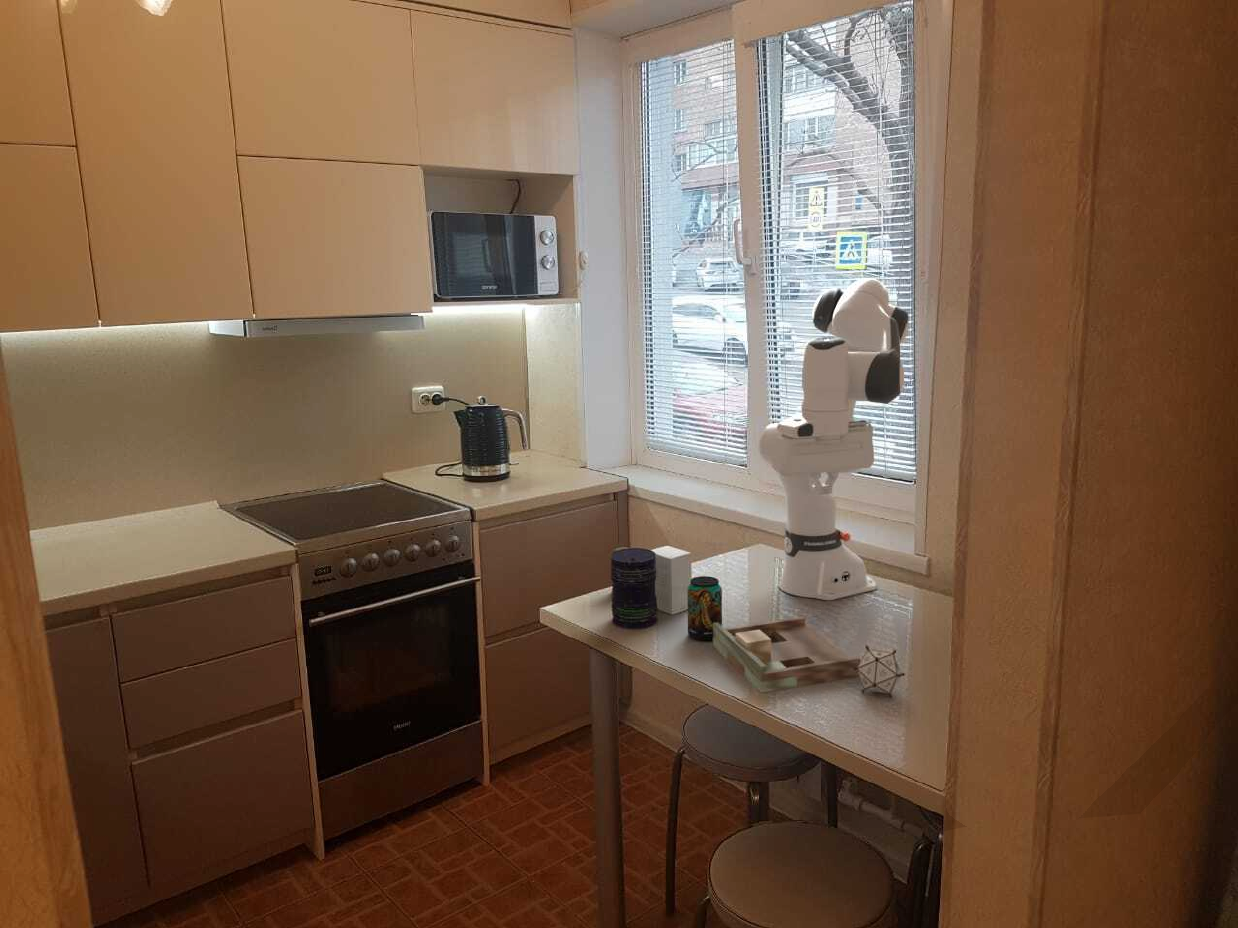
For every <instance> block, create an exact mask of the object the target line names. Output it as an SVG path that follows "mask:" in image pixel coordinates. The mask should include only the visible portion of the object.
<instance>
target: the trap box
mask: <svg viewBox="0 0 1238 928" xmlns="http://www.w3.org/2000/svg"><path fill="white" fill-rule="evenodd" d="M753 630H760V631H762V632H763V633H764V634H765V635H767V636H768V637H769V638H770V639H771V659H768V660H762V661H760V660H759V659H758V658H757V657H756V656H755V655H754V654H753V653H752V652H750V651H749V650H748V649H747V648H746V647H745V646H744V645H743V644H741V643H740V642H739V641H738V640H737V639H736V638H735V633H740V632H746V631H753ZM712 647H713V648H715V650H716V651H717V652H718V653H719V654H720V655H722V657H723V658H725V659H726V660H727V661H728V662H729V663H730V664H731V665H732V666H733V667H734V668H735V669H736V670H737V671H738V672H739V673H740V674H741V675H742V676H743V677H744V678H745V679H746V680H747V681H748V682H749V683H750V684H752V686H753V687H755V688H756V690H758V692H760V694H763V693H768V692H775V691H781V690H785V689H791V688H798V687H803V686H809V685H814V684H815V685H816V684H821V683H826V682H833V681H838V680H839V681H840V680H845V679H849V678H850V679H851V678H857V677H859V675H858V672H857V670H853V669H852V668H853V667H856V668H857V667H858V665H859V663H860V662H861V660H862V658H861V657H859V656H851V657H849V656H848V655H846V654H845V653H844V652H842V651H841V650H839V648H837V647H835V645H833V644H831V643H830V642H829V641H827V640H826V639H825V638H823V637H822V636H820V635H819V634H818V633H816V632H815V631H813V629H811V628H810V627H808V626H807V625H806V618H805V617H804V616H798V617H797V616H796V617H791V618H790V617H789V618H785V619H777V620H770V621H764V622H757V623H752V624H751V623H750V624H744V625H738V626H729V627H724V626H723V625H722V626H721V625H720V624H719V623H718V622H715V623H713V641H712Z"/></svg>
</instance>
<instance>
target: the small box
mask: <svg viewBox="0 0 1238 928" xmlns="http://www.w3.org/2000/svg"><path fill="white" fill-rule="evenodd" d="M650 550H651V551H653V552H655V553H656V559H655V560H656V569H657V571H656V575H657V577H656V580H655V595H656V597H657V610H659V611H661V612H664V613H666V614H669V615H671V616H673V615H675V614H679V613H681V612H684V611H686V610H687V611H688V601H687V589H688V587H689V585H690V584H691V582H690V581H691V579H693V578H692V577H693V576H692V572H693V571H692V552H690V551H689V552H688V551H686V550H683V549H679V548H676V547H673V546H669V545H665V546H661V547H657V548H653V549H650Z"/></svg>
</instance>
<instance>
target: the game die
mask: <svg viewBox="0 0 1238 928" xmlns="http://www.w3.org/2000/svg"><path fill="white" fill-rule="evenodd" d="M865 650H866V651H865V653H864V655H863V657H862V658H861V659H860V663H859V665H858V667H857V668H856V667H853V668H852V669H853V670H857V672H858V675H859V676H858V678H859V680H860V683H861V685H862V688H863V689H861V691H860V693H861V694H863V693H865V692H866V691H869V692H873V693H874V692H875V693H882V694H887V695H888V697H889V698H890V699H893V695H892V692H893V689H894V688H895V687H896V685H897V683H898V680H899V679H900V678H901V677H904V676H906V673H904V672H902V671H901V670H900V668H899V667H900V666H899V665H898V662H897V659H896V655H895V654H896V653H897V649H893V650H892V652H888V651H881V650H874V649H870V648H869V646H868V645H867V644H866V645H865Z"/></svg>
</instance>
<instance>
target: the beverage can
mask: <svg viewBox="0 0 1238 928" xmlns="http://www.w3.org/2000/svg"><path fill="white" fill-rule="evenodd" d="M690 582H691V584H690V585H689V587H688V589H687V601H688V609H687V633H688V635H689V636H690V638H691V639H692V640H695V641H698V642H713V623H715V622H718V623H719V624H720V625H721V626H722V627H723V589H722V586H721V585H720V583H719V578H716V577H714V576H707V575H706V576H705V575H704V576H696V577H693V578H692V579H691V581H690Z"/></svg>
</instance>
